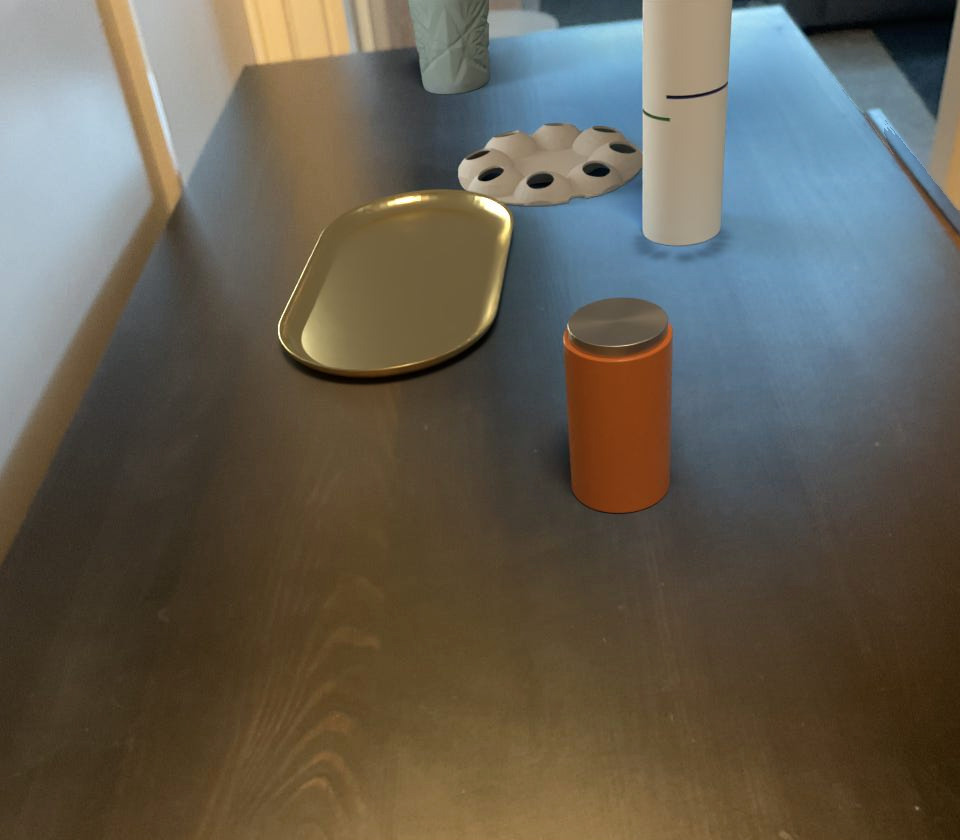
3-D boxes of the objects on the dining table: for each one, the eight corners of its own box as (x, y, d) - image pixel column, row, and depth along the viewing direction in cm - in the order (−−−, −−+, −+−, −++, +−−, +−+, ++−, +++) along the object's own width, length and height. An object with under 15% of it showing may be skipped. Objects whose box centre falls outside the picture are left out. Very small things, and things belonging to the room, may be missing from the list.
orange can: (659, 450, 75) (661, 288, 67) (679, 506, 71) (683, 340, 62) (565, 462, 76) (556, 302, 67) (578, 519, 71) (570, 355, 63)
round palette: (649, 128, 119) (649, 109, 118) (636, 202, 106) (636, 182, 104) (476, 136, 123) (474, 118, 122) (442, 208, 109) (439, 189, 108)
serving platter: (258, 391, 87) (253, 374, 86) (342, 210, 112) (339, 195, 111) (488, 383, 84) (486, 365, 83) (522, 199, 109) (521, 183, 108)
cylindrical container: (713, 247, 97) (728, -81, 80) (634, 243, 99) (633, -76, 82) (726, 213, 102) (744, -103, 84) (651, 211, 104) (653, -98, 86)
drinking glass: (402, 87, 138) (387, -19, 130) (461, 64, 143) (449, -40, 134) (455, 101, 132) (442, -10, 124) (514, 76, 137) (505, -32, 129)
